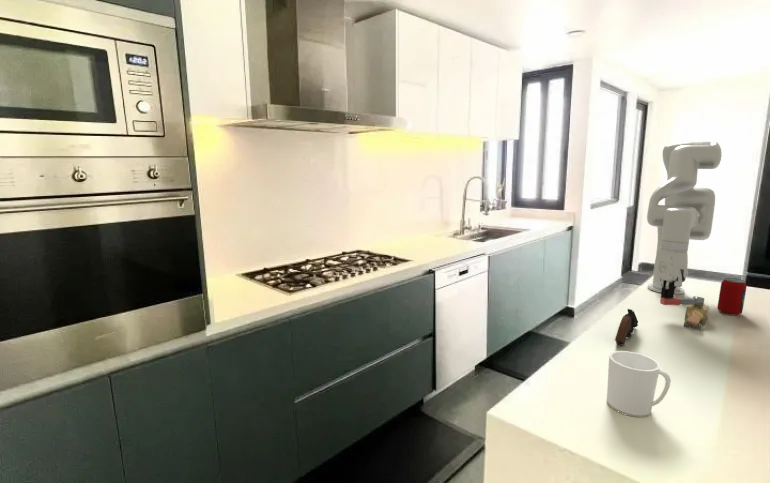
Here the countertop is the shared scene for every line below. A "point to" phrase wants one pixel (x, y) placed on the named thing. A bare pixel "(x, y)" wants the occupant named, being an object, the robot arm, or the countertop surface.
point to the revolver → (626, 327)
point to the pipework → (695, 316)
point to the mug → (634, 383)
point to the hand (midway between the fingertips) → (666, 299)
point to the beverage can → (732, 296)
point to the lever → (683, 301)
